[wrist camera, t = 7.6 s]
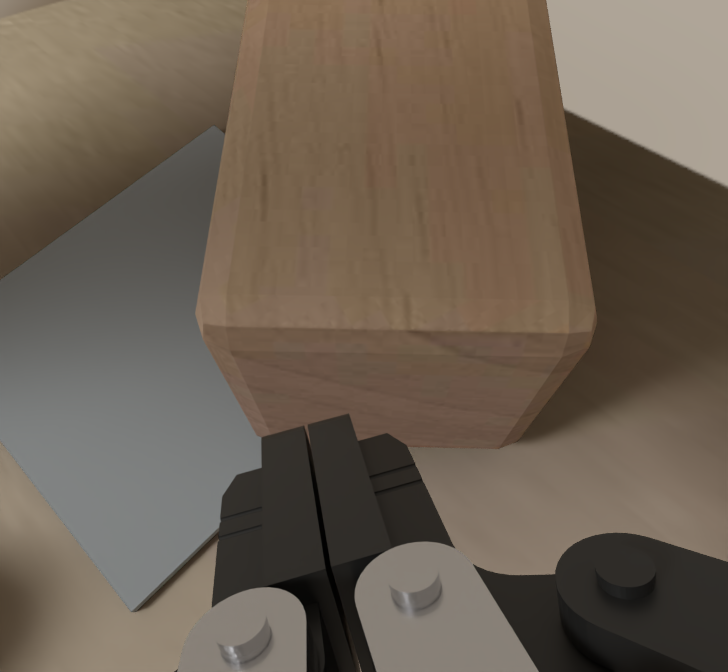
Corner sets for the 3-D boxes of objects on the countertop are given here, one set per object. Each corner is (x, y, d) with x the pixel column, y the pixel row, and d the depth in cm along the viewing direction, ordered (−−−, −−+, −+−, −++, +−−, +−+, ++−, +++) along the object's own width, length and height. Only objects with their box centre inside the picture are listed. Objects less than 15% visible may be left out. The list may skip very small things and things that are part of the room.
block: (177, 331, 14) (263, -150, 23) (252, 450, 23) (293, 73, 32) (618, 339, 14) (533, -148, 23) (520, 456, 23) (486, 75, 32)
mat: (-73, 340, 26) (-79, 337, 26) (216, 130, 31) (213, 124, 30) (135, 612, 21) (131, 611, 21) (441, 316, 26) (441, 312, 25)
